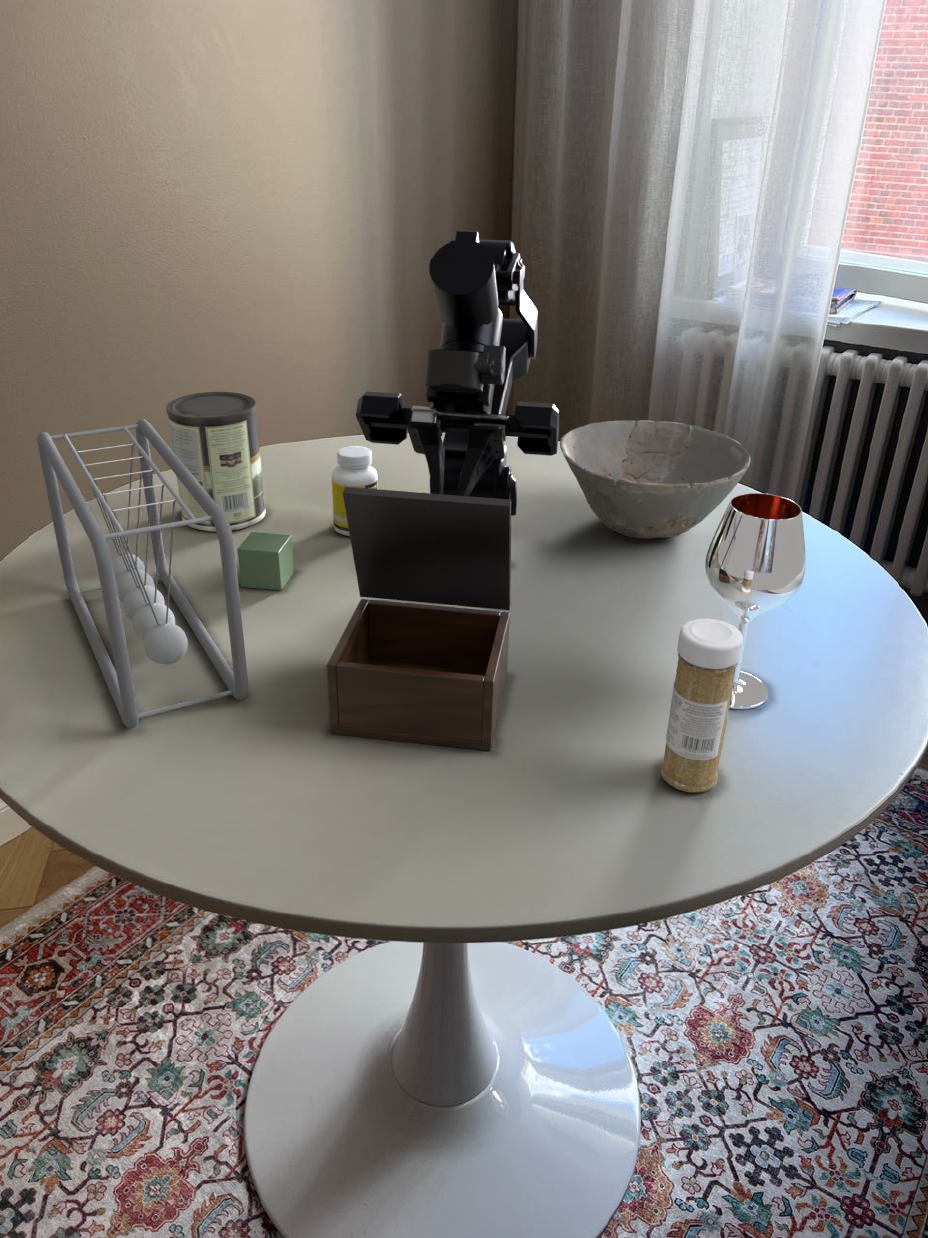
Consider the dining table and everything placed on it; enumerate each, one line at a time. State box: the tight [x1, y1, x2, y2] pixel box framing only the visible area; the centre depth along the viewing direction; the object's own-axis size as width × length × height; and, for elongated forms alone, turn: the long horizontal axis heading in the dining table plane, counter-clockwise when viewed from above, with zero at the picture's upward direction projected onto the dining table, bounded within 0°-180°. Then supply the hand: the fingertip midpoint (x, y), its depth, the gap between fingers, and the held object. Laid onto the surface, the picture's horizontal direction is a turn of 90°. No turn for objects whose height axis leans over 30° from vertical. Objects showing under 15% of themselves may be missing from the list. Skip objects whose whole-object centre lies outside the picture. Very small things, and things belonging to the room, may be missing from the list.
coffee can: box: [165, 391, 267, 533], centre depth 118 cm, size 10×10×14 cm
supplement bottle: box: [331, 445, 379, 537], centre depth 117 cm, size 5×5×10 cm
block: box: [236, 531, 295, 591], centre depth 106 cm, size 4×4×4 cm
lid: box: [343, 487, 512, 611], centre depth 84 cm, size 12×14×1 cm
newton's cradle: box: [36, 418, 249, 729], centre depth 91 cm, size 30×10×18 cm, turn 29°
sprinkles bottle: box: [660, 618, 743, 793], centre depth 75 cm, size 5×5×14 cm
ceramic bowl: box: [559, 419, 751, 539], centre depth 119 cm, size 22×23×10 cm
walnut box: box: [326, 598, 511, 752], centre depth 85 cm, size 12×14×7 cm
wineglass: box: [704, 492, 806, 710], centre depth 86 cm, size 8×8×18 cm
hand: (447, 507), depth 91 cm, fingers closed
